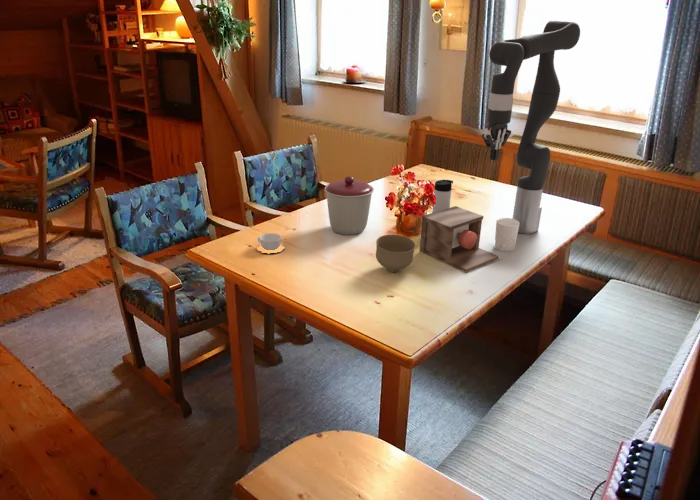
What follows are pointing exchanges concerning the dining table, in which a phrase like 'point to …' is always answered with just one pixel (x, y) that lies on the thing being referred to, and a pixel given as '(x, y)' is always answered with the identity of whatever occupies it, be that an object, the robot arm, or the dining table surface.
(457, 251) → the cabinet
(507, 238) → the white cup
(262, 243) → the teacup
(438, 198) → the travel mug
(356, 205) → the canister
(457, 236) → the drawer with red knob
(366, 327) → the dining table surface
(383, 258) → the bowl
